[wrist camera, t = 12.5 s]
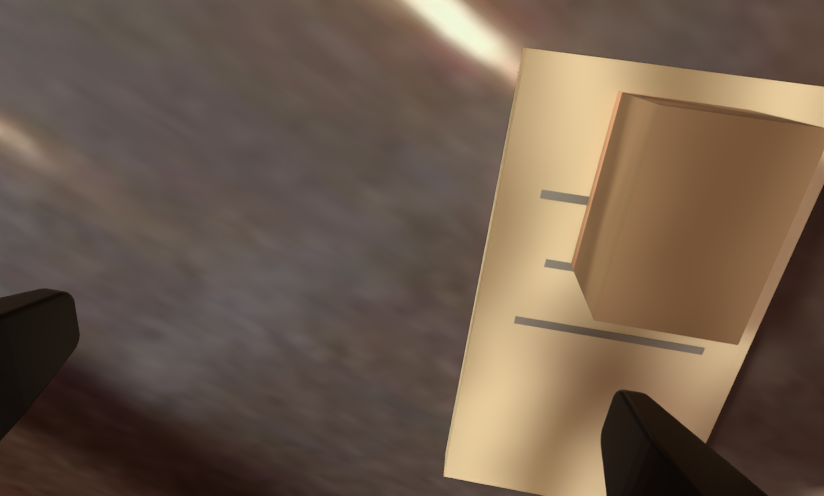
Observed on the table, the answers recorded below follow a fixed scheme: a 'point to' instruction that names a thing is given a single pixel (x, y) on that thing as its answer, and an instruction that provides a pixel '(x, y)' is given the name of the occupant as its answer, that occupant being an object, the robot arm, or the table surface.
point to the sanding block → (690, 214)
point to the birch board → (561, 294)
